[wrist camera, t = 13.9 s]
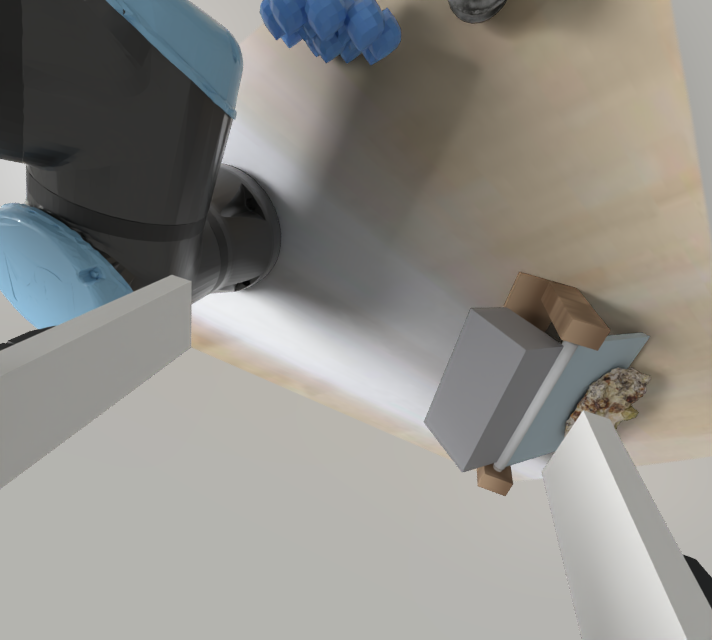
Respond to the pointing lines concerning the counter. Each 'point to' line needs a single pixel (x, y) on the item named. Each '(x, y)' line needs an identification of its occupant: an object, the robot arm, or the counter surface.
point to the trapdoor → (515, 388)
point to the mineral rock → (612, 396)
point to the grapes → (334, 27)
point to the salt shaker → (475, 9)
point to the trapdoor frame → (539, 308)
